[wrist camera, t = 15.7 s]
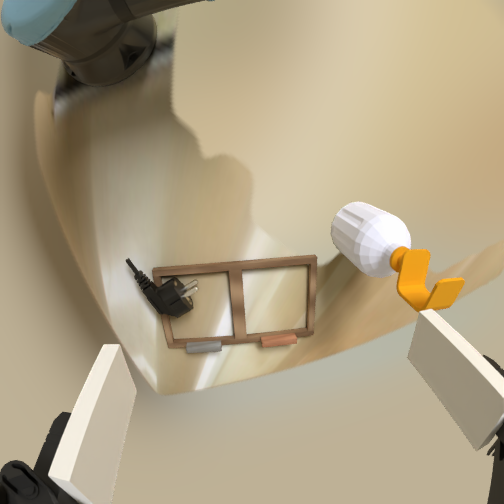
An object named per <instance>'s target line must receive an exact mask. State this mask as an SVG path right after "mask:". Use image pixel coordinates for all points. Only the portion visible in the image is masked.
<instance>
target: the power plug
mask: <svg viewBox="0 0 504 504" xmlns="http://www.w3.org/2000/svg"><path fill="white" fill-rule="evenodd" d="M126 262H127V264H128V265H129V266H130V268H131V269H132V270H133V272H134V273H135V276H134V278H135V279H136V280H137V279H138V280H137V283H139V286H141V290H142V289H143V290H142V291H143V293H144V294H145V295H146V297H147V299H148V301H149V302H150V303H151V304H152V306H153V307H154V308H155V309H156V310H157V312H158V313H159V314H162V315H163V314H166V315H170V316H175V317H177V318H178V317H180V316H181V315H183V314H185V313H187V312H188V311H190V310H192V309H193V301H192V299H191V297H190V295H192V294H193V293H195V292H197V291H198V287H197V286H195V285H196V284H198V280H196V279H195V280H193V281H192V282H190V283H189V284H187V285H185V286H184V285H183V284H182V283H181V282H180V281H179V280H178V279H177V278H175V277H173V278H172V279H170V280H169V281H167V282H165V283H164V284H162V285H161V286H159V287H157V286H156V285H155V284H154V283H153V282H152V281H151V282H150V279H148V277H147V276H146V275H145V274H143V272H142V271H141V270H140V271H138V270H137V269H136V267H135V266H134V265H133V263H132V262H131V261H130V259H129V258H128V259H127V260H126ZM193 286H195V287H193ZM191 287H193V288H192V289H190V288H191ZM188 289H190V290H188ZM187 290H188V291H187Z"/></svg>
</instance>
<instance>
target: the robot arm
mask: <svg viewBox="0 0 504 504" xmlns="http://www.w3.org/2000/svg"><path fill="white" fill-rule="evenodd" d="M200 1H205V0H4V2H3V6H2V12H1V21H2V26H3V28H4V30H5V31H6V33H7V34H8V35H10V36H11V37H13V38H15V39H17V40H18V41H19V42H20V43H21V44H24V45H26V46H30V47H32V48H35V49H37V50H40V51H42V52H45V53H47V54H49V55H52V56H54V57H57V58H59V59H61V61H62V63H63V65H64V67H65V69H66V70H67V72H68V73H69V74H70V75H71V76H72V77H73V78H74V79H76V80H77V81H79V82H82V83H84V84H87V85H90V86H107V85H111V84H114V83H117V82H119V81H121V80H123V79H125V78H127V77H128V76H130V75H131V74H133V73H134V72H135V71H136V70H138V69H139V68H140V67H141V66H142V65H143V63H144V62H145V61H146V60H147V58H148V57H149V55H150V54H151V52H152V50H153V48H154V45H155V42H156V37H157V26H156V22H155V19H154V17H153V15H152V14H154V13H157V12H160V11H164V10H167V9H171V8H175V7H179V6H183V5H186V4H190V3H195V2H200ZM207 1H214V0H207ZM407 358H408V359H409V360H410V362H411V363H412V365H413V366H414V367H415V368H416V370H417V371H418V372H419V374H420V375H421V376H422V377H423V379H424V380H425V381H426V383H427V384H428V385H429V387H430V388H431V389H432V391H433V392H434V393H435V395H436V396H437V397H438V399H439V400H440V401H441V403H442V404H443V405H444V407H445V408H446V409H447V411H448V412H449V413H450V415H451V416H452V418H453V419H454V421H455V422H456V423H457V425H458V426H459V428H460V429H461V430H462V432H463V433H464V435H465V436H466V438H467V439H468V440H469V442H470V443H471V445H472V446H473V448H474V449H475V450H476V451H478V450H479V449H481V448H482V447H484V446H485V445H487V444H488V443H489V442H490V441H491V440H492V438H493V437H494V436H495V434H496V435H497V436H498V439H497V440H496V442H495V443H494V444H493V446H492V447H491V448H490V449H489V451H488V453H487V455H490V453H491V452H492V451H493V450H494V449H495V451H494V453H493V454H492V456H494V464H493V472H492V479H491V486H490V492H489V497H488V503H487V504H504V370H503V369H501V368H500V366H499V365H498V364H497V363H496V362H495V361H494V360H492V359H491V358H489V357H487V356H485V355H483V356H482V355H481V354H480V353H478V351H476V350H475V348H473V347H472V346H471V345H470V344H469V343H468V342H467V341H466V340H465V339H464V338H463V337H462V336H461V335H460V334H459V333H458V332H457V331H456V330H454V329H453V328H452V327H451V326H450V325H449V324H448V323H447V322H446V321H445V320H443V319H442V318H441V317H440V316H439V315H438V314H437V313H436V312H435V311H434V310H432V309H428V310H424V311H419V315H418V320H417V324H416V328H415V332H414V336H413V339H412V343H411V347H410V350H409V353H408V357H407ZM136 393H137V390H136V387H135V385H134V382H133V380H132V377H131V374H130V372H129V369H128V366H127V364H126V361H125V358H124V355H123V352H122V349H121V346H120V344H104V345H103V347H102V349H101V351H100V353H99V355H98V357H97V359H96V361H95V363H94V365H93V367H92V369H91V372H90V374H89V376H88V378H87V380H86V382H85V385H84V386H83V389H82V391H81V393H80V395H79V398H78V400H77V402H76V405H75V407H74V409H73V411H72V413H68V412H62V413H61V414H60V415H59V416H58V417H57V418H56V419H55V420H54V421H53V424H52V426H51V428H50V430H49V432H50V433H49V434H48V435H47V438H46V442H44V445H43V447H42V450H41V452H40V455H39V457H38V459H37V462H36V465H35V467H34V470H32V469H31V468H30V467H29V466H28V465H27V464H25V463H24V462H22V461H18V460H14V461H10V462H8V463H7V464H5V465H4V466H3V468H2V469H1V472H0V504H112V498H113V493H114V488H115V483H116V478H117V472H118V468H119V463H120V458H121V453H122V450H123V445H124V441H125V437H126V432H127V428H128V424H129V420H130V416H131V412H132V408H133V404H134V401H135V397H136Z"/></svg>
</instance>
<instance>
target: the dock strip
mask: <svg viewBox="0 0 504 504" xmlns="http://www.w3.org/2000/svg"><path fill="white" fill-rule="evenodd" d="M301 264H309V281H308V310H307V328H299V329H291V330H283V331H274V332H265V333H255V334H246V322H245V309H244V295H243V281H242V270H244V269H256V268H268V267H279V266H290V265H301ZM220 271H229V279H230V290H231V301H232V312H233V322H234V332H235V335H233V336H221V337H206V338H190V339H174V338H173V333H172V329H171V324H170V319H169V315H166V314H163V315H162V314H161V317H162V322H163V326H164V330H165V335H166V339H167V343H168V347H169V348H177V347H186V351H187V353H200V352H216V351H222V346H221V345H227V344H239V343H250V342H260V341H261V343H262V347H271V346H280V345H288V344H295V343H297V337H302V336H309V335H313V334H314V318H315V300H316V277H317V257H316V255H305V256H293V257H281V258H270V259H258V260H246V261H233V262H221V263H209V264H196V265H183V266H171V267H158V268H153V270H152V273H153V278H154V283H155V285H156V286H157V287H159V286H161V285H162V278H161V276H168V275H182V274H195V273H208V272H220Z"/></svg>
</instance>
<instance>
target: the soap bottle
mask: <svg viewBox="0 0 504 504" xmlns="http://www.w3.org/2000/svg"><path fill="white" fill-rule="evenodd" d="M331 236H332V240H333V243H334V244H335V246H336V247H337V249H338V250H339V251H340V252H341V253H342V254H343V255H345V256H346V257H347V258H348V259H349V260H350V261H351V262H352V263H353V264H354V265H355V266H356V267H357V268H358V269H359V270H360V271H362V272H363V273H365V274H366V275H368V276H371V277H379V278H383V277H387V276H391V275H392V274H394V273H395V272H399V275H398V280H397V292H398V294H399V295H400V296H401V297H402V298H403V299H404V300H405V301H406V302H407V303H408V304H409V305H410V306H411V307H412V308H413V309H415V310H416V311H417V312H419V311H424V310H428V309H432V310H440V309H446V308H449V307H450V306H451V305H452V304H453V303H454V301H455V299H456V298H457V296H458V294H459V292H460V291H461V289H462V287H463V285H464V283H465V281H464V280H463V278H450V279H442V280H440V281H438V282H437V283H436V284H435V286H434V288H433V290H432V292H431V293H430V292H428V291H427V289H426V287H425V278H426V274H427V270H428V265H429V260H430V252H429V251H428V250H426V249H418V250H417V249H414V250H410V247H411V239H410V234H409V232H408V230H407V228H406V226H405V224H404V222H402V221H401V220H400V219H399V218H398V217H396V216H394V215H392V214H390V213H388V212H385V211H383V210H381V209H378V208H376V207H374V206H372V205H369V204H367V203H363V202H353V203H349V204H347V205H346V206H344V207H342V208H341V209H340V210H339V212H338V213H337V214H336V215H335V217H334V220H333V222H332V227H331Z"/></svg>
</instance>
